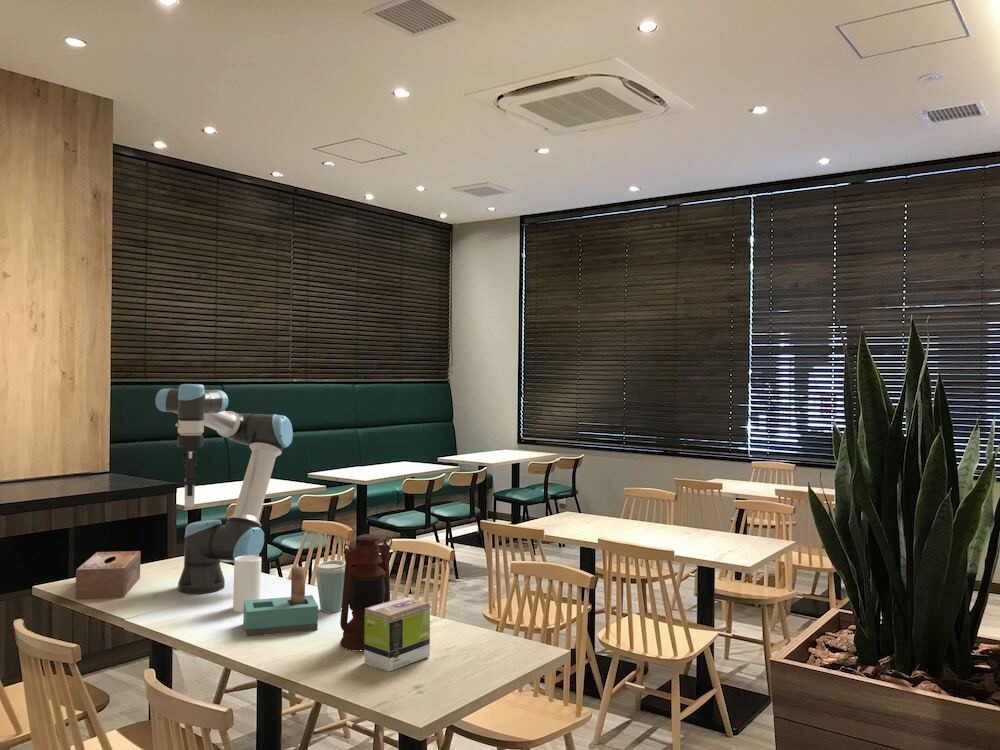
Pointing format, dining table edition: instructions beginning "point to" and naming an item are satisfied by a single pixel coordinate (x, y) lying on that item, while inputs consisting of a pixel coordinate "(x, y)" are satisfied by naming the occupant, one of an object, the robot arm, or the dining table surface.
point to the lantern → (363, 586)
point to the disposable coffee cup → (330, 584)
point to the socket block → (279, 616)
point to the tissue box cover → (108, 575)
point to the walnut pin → (298, 586)
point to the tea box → (397, 633)
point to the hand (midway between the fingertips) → (189, 502)
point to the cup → (246, 580)
